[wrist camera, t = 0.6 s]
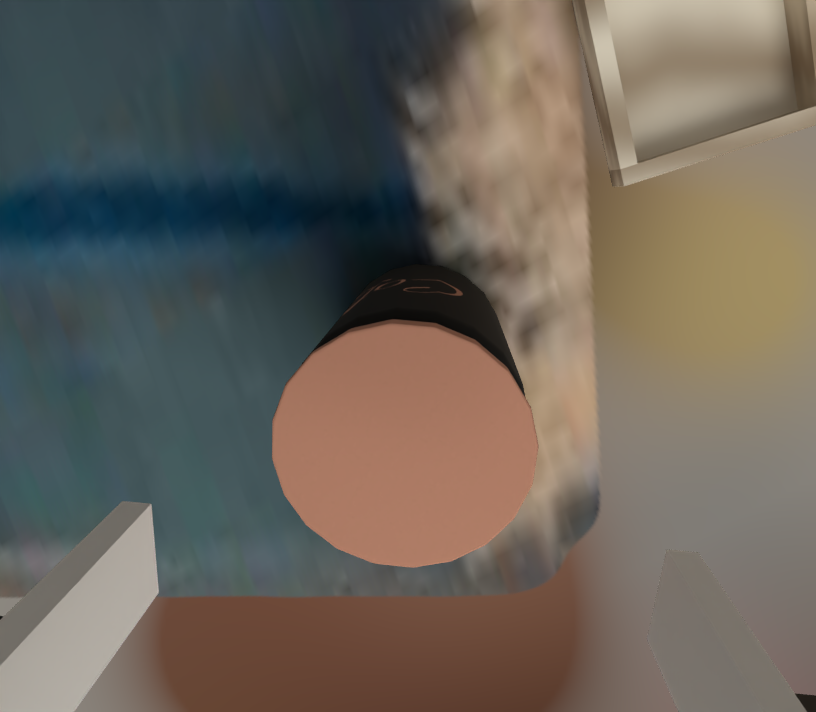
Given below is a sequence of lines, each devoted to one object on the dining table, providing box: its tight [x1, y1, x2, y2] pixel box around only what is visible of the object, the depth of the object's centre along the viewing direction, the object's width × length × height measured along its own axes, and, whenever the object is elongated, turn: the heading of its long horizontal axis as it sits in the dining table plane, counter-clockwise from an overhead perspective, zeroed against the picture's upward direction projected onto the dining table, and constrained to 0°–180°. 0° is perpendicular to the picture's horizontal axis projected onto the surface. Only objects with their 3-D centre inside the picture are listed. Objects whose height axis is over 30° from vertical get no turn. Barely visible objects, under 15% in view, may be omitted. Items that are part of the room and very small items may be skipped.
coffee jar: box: [272, 264, 538, 567], centre depth 31 cm, size 11×11×18 cm
